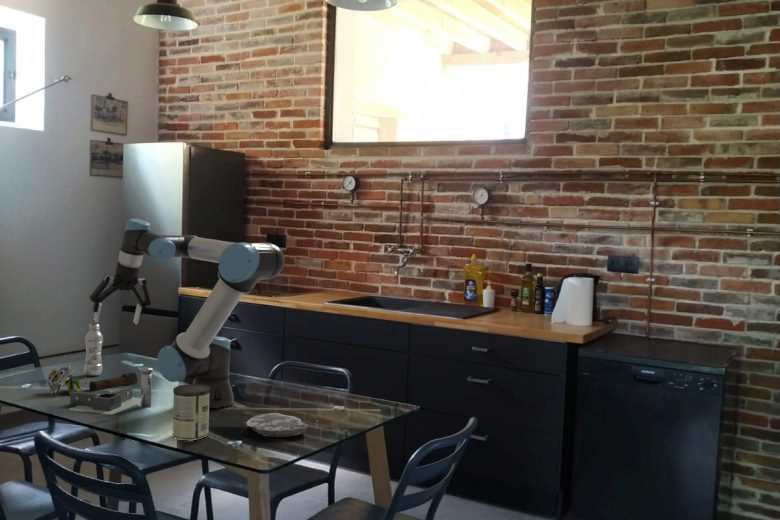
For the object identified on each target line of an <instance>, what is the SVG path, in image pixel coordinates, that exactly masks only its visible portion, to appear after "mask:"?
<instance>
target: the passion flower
mask: <svg viewBox="0 0 780 520" xmlns="http://www.w3.org/2000/svg"><path fill="white" fill-rule="evenodd" d="M71 368H72V365H71V364H68V365H67V367H65V366H64V367H61V368H60V369H59V370H58V369H56V368H54V369H52V371H50V372H49V374H48V376H47V377H48V379H49V380H47V381H46V383H47V384H48V386H49V389H50V391H49V392H51V393H50V394H51V395H55V394H57V393H58V392H59V391H60V389H61V387H64V386H66V387H67V390H68V394H69V396H70V392H75V391H76V392H81V390H82V383H81V382H80V381H81V380H84V384H87V383H88V381H87V377H86V376H85V377H82V378H80V379H73V375H74V374H75V370H72V371H71Z"/></svg>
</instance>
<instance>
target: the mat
mask: <svg viewBox="0 0 780 520" xmlns="http://www.w3.org/2000/svg"><path fill="white" fill-rule="evenodd" d="M138 404H141V397H134V396H132V398H131V399H128V400H126V401H123V402H121V407H119V408H117V409H114V410H112V411H103V410H93V407H88V406H79V405H75V406H74V407H70V408H68V411H77V412H86V413H94V414H95V413H96V414H101V415H103V414H104V415H112V416H113V415H115V414H118V413H119V412H122V411H124V410H127V409H130V408H131V407H134V406H136V405H138Z"/></svg>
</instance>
